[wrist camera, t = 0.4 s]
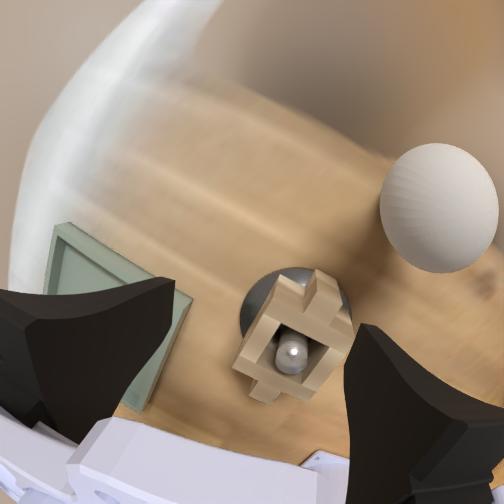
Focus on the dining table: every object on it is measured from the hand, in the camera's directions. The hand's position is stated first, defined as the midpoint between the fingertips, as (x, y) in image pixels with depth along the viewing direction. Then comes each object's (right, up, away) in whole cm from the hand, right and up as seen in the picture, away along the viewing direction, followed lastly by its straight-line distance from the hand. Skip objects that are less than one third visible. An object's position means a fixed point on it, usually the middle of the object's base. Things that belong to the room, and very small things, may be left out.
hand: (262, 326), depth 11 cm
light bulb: (+9, +6, +8) cm, 14 cm away
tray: (-13, -3, +14) cm, 20 cm away
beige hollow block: (+3, -2, +10) cm, 11 cm away
